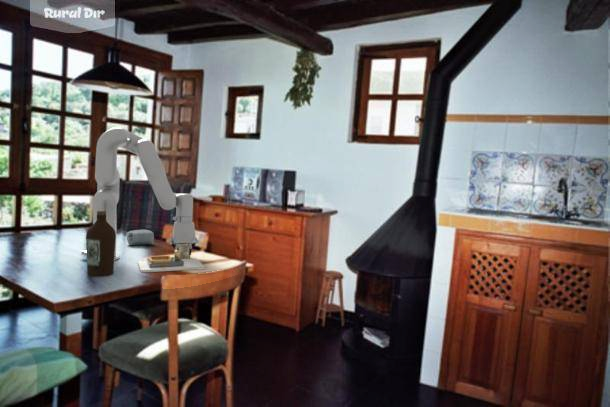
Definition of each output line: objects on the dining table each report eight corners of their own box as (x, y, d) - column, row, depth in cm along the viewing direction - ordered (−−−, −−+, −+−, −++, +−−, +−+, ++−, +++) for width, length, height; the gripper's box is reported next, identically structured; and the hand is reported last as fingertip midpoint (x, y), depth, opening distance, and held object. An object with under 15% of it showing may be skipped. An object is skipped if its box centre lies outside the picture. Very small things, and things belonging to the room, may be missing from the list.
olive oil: (101, 268, 175) (102, 209, 173) (121, 272, 172) (122, 211, 169) (79, 274, 166) (79, 211, 163) (99, 278, 162) (100, 213, 159)
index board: (140, 272, 173) (141, 269, 173) (137, 263, 188) (137, 260, 188) (204, 268, 185) (204, 266, 185) (196, 260, 199) (196, 258, 199)
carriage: (149, 267, 178) (149, 253, 177) (146, 261, 187) (147, 248, 186) (183, 265, 184) (184, 252, 183) (179, 260, 193) (179, 247, 192)
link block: (178, 259, 200) (178, 246, 200) (176, 257, 204) (177, 244, 204) (189, 258, 202) (189, 246, 202) (187, 256, 207) (187, 244, 206)
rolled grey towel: (126, 241, 218) (130, 223, 222) (123, 246, 226) (127, 229, 230) (153, 246, 224) (157, 229, 228) (149, 251, 231) (153, 234, 236)
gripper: (166, 220, 194) (165, 259, 196) (203, 220, 202) (202, 257, 204) (164, 218, 201) (163, 255, 203) (200, 218, 209) (198, 254, 210)
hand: (182, 256), depth 203 cm, fingers closed on link block, 4 cm apart
